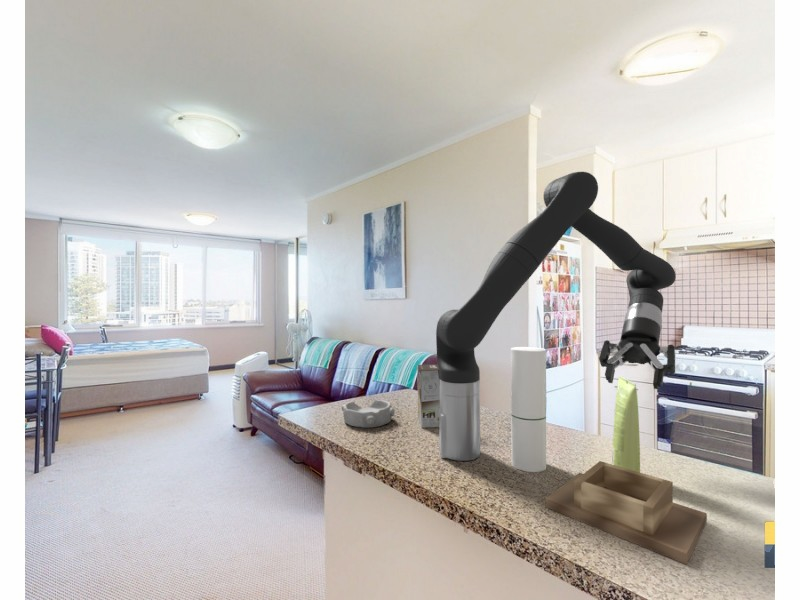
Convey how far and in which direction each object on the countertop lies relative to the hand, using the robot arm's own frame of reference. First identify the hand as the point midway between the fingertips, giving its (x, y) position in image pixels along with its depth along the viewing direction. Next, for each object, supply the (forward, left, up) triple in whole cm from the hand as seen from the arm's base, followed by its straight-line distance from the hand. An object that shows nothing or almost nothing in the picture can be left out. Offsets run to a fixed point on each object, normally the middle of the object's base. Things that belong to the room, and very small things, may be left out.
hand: (631, 383), depth 83 cm
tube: (-4, -5, -18) cm, 19 cm away
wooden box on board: (-12, -19, -17) cm, 28 cm away
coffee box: (-42, +28, -18) cm, 53 cm away
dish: (-60, +29, -18) cm, 69 cm away
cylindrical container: (-22, 0, -18) cm, 28 cm away
